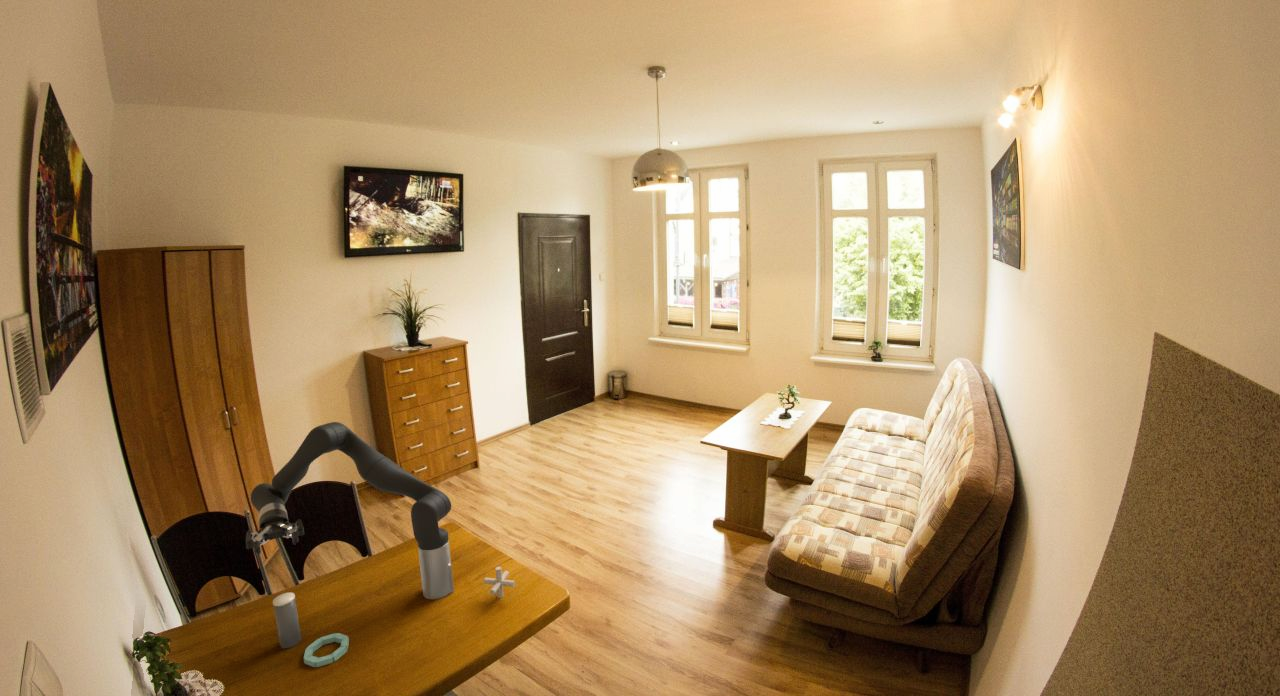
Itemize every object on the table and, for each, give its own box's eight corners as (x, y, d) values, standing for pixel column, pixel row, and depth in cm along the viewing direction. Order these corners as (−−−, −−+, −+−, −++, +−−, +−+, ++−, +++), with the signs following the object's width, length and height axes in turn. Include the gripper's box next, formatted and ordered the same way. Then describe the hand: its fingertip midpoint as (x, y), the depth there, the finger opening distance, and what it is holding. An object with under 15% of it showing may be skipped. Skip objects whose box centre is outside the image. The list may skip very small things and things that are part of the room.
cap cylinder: (302, 633, 153) (296, 590, 150) (299, 645, 148) (293, 601, 146) (281, 639, 151) (274, 595, 148) (278, 651, 146) (270, 606, 144)
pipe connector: (508, 608, 162) (506, 579, 160) (478, 604, 164) (476, 576, 162) (521, 588, 171) (519, 560, 170) (493, 585, 173) (491, 557, 172)
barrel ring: (349, 634, 152) (349, 629, 152) (346, 658, 143) (346, 653, 143) (308, 645, 148) (307, 640, 148) (302, 671, 139) (301, 666, 138)
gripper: (243, 515, 159) (245, 542, 147) (299, 502, 167) (305, 527, 155) (246, 536, 161) (247, 565, 148) (301, 523, 169) (306, 549, 157)
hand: (277, 546), depth 152 cm, fingers open, 8 cm apart
